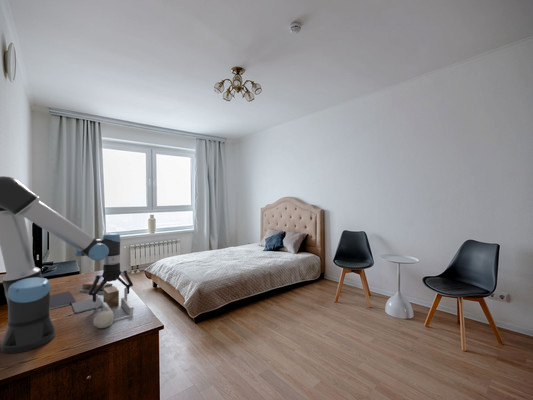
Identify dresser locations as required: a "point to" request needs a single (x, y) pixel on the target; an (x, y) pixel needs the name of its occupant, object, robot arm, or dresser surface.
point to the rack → (124, 304)
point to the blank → (111, 296)
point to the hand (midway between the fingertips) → (111, 303)
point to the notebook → (61, 300)
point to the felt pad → (86, 305)
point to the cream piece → (103, 319)
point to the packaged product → (88, 285)
